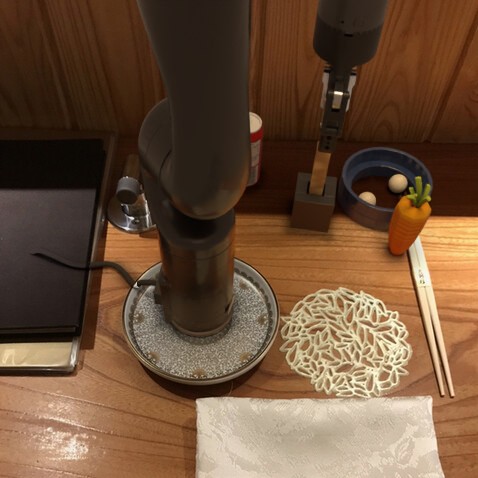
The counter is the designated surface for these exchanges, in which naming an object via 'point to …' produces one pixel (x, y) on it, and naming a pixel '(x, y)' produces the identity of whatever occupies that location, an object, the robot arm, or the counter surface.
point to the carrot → (409, 218)
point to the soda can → (255, 147)
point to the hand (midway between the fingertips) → (328, 129)
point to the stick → (319, 172)
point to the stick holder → (313, 204)
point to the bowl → (377, 164)
